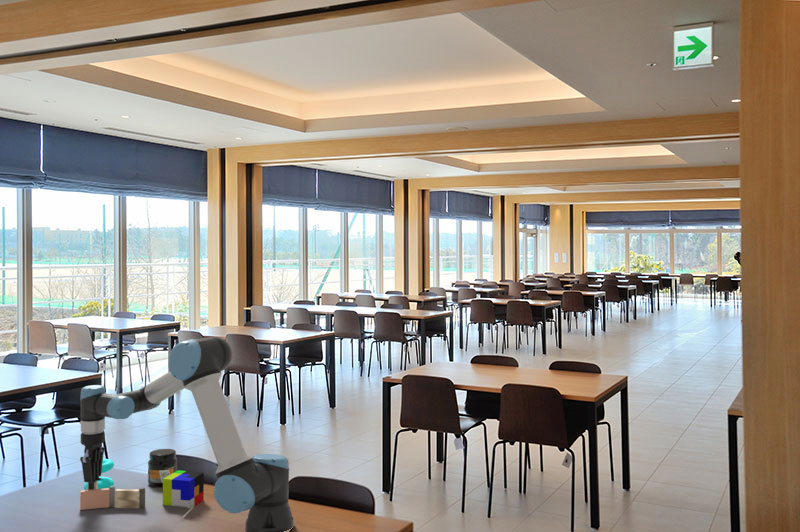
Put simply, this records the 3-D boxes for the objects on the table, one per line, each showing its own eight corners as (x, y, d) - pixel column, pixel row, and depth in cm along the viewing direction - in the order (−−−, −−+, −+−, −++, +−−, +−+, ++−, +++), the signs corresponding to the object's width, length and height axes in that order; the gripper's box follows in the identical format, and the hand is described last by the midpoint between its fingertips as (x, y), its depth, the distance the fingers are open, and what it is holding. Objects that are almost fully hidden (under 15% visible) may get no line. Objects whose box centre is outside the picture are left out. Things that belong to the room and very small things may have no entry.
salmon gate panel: (114, 505, 234) (115, 485, 234) (114, 506, 233) (114, 487, 233) (80, 508, 231) (81, 488, 231) (80, 510, 229) (80, 490, 229)
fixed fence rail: (146, 507, 234) (146, 487, 234) (143, 509, 232) (143, 489, 232) (116, 506, 234) (117, 487, 234) (114, 508, 232) (114, 489, 232)
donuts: (119, 459, 258) (100, 466, 248) (119, 486, 258) (100, 494, 248) (98, 456, 261) (78, 463, 252) (98, 483, 261) (78, 491, 252)
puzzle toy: (189, 510, 234) (189, 481, 234) (162, 507, 236) (162, 478, 236) (203, 500, 244) (203, 472, 244) (177, 498, 246) (177, 470, 246)
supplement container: (167, 488, 255) (167, 456, 255) (141, 486, 258) (142, 454, 258) (182, 480, 266) (182, 449, 265) (158, 478, 268) (158, 447, 268)
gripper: (91, 426, 240) (91, 493, 241) (72, 436, 227) (72, 507, 228) (112, 426, 240) (112, 493, 240) (94, 436, 227) (94, 507, 228)
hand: (92, 500), depth 234 cm, fingers closed
